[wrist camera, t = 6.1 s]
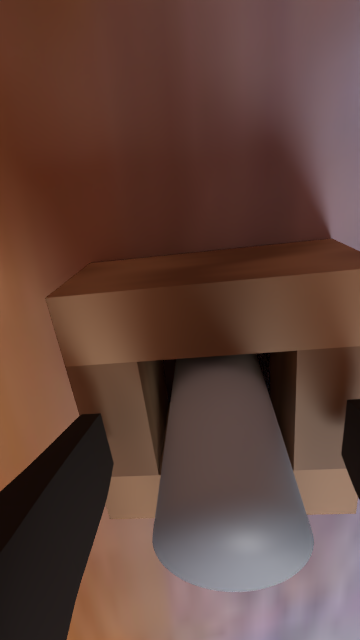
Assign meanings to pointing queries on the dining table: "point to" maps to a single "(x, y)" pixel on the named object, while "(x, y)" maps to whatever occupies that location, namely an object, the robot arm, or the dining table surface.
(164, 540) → the dowel
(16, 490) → the robot arm
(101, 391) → the socket block
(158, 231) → the dining table surface
